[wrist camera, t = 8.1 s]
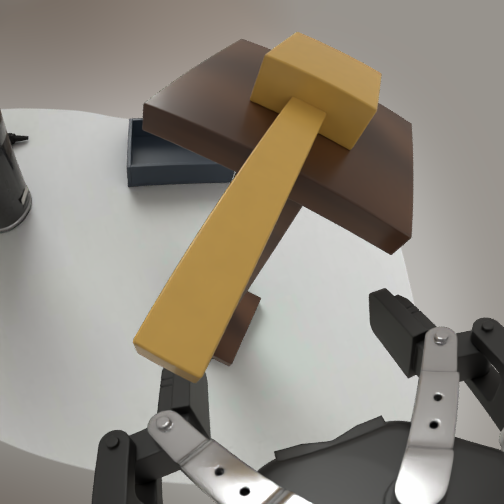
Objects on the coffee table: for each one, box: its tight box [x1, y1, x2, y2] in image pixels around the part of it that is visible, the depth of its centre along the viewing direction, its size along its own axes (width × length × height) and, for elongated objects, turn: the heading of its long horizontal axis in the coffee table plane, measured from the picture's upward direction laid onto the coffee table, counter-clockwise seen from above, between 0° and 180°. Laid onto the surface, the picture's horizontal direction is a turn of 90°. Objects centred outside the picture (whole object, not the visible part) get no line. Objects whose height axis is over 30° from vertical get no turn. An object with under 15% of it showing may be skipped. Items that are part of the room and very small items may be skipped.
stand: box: [142, 39, 413, 366], centre depth 27 cm, size 10×12×32 cm
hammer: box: [133, 32, 381, 383], centre depth 10 cm, size 16×5×2 cm, turn 157°
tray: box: [127, 118, 234, 187], centre depth 51 cm, size 17×12×4 cm
